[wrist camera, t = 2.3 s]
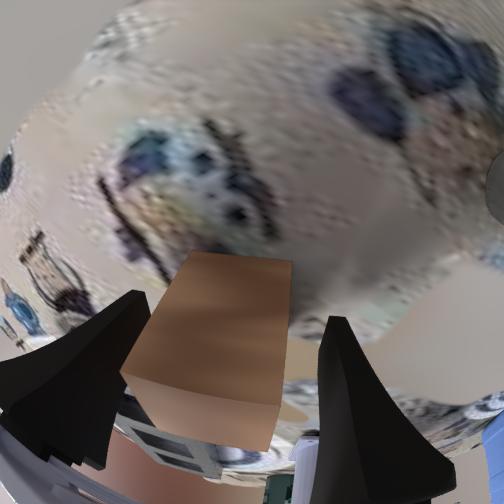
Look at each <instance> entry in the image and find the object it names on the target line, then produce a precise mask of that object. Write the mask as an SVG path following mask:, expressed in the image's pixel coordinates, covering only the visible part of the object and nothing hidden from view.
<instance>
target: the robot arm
mask: <svg viewBox="0 0 504 504" xmlns="http://www.w3.org/2000/svg"><path fill="white" fill-rule="evenodd" d="M150 317H151V313H150V310H149V306H148V302H147V299H146V295H145V292H143V291H138V290H131V291H129V292H128V293H126V294H125V295H123V296H122V297H120V298H119V299H117V300H116V301H115V302H113V303H112V304H110V305H109V306H108V307H106V308H105V309H103V310H102V311H101V312H99V313H98V314H96V315H95V316H94V317H92V318H91V319H89V320H88V321H86V322H85V323H83V324H82V325H80V326H79V327H77V328H76V329H74V330H73V331H71V332H69V333H68V334H66V335H64V336H63V337H61V338H59V339H57V340H55V341H54V342H52V343H50V344H48V345H45V346H43V347H41V348H39V349H37V350H35V351H32V352H30V353H27V354H25V355H22V356H19V357H16V358H13V359H9V360H5V361H1V362H0V408H1V409H2V410H3V412H2V414H1V413H0V483H1V484H2V486H3V487H4V488H5V490H6V491H7V492H8V494H9V495H10V496H11V498H12V499H13V500H14V501H15V503H16V504H105V503H107V504H144V503H142V502H139V501H137V500H134V499H132V498H129V497H127V496H125V495H123V494H120V493H118V492H116V491H114V490H112V489H110V488H108V487H106V486H104V485H101V484H100V483H98V482H96V481H94V480H92V479H90V478H89V477H87V476H85V475H83V474H82V473H80V472H78V471H77V470H75V469H73V468H72V467H71V465H72V463H75V464H77V465H78V466H81V464H82V462H83V463H85V464H87V465H89V466H91V467H92V468H94V469H96V470H98V471H99V470H103V469H105V466H106V458H107V452H108V446H109V441H110V437H111V432H112V428H113V425H114V421H115V418H116V414H117V411H118V408H119V405H120V403H121V400H122V397H123V394H124V392H125V390H126V388H127V386H128V385H127V383H126V381H125V380H124V378H123V376H122V375H121V373H120V370H121V368H122V366H123V364H124V362H125V361H126V359H127V357H128V355H129V353H130V352H131V350H132V348H133V346H134V344H135V343H136V341H137V339H138V337H139V336H140V334H141V332H142V331H143V329H144V327H145V325H146V324H147V322H148V320H149V319H150ZM318 354H319V355H318V374H317V375H318V395H319V417H320V433H319V436H301V437H300V438H299V439H298V441H297V443H296V445H295V447H294V448H293V450H292V452H291V453H290V455H289V457H288V460H290V461H296V466H295V475H294V483H293V491H292V499H291V504H431V499H432V498H435V497H437V496H440V495H443V494H445V493H447V492H450V491H452V490H454V489H455V488H456V486H457V485H456V473H455V467H454V464H453V463H452V462H451V461H450V460H449V459H447V458H446V457H445V456H444V455H443V454H441V453H440V452H439V451H438V450H437V449H435V448H434V447H433V446H432V445H431V444H430V443H429V442H428V441H427V440H426V439H425V438H424V437H423V436H422V435H421V434H420V433H419V431H418V430H417V429H416V428H415V427H414V426H413V425H412V424H411V422H410V421H409V420H408V419H407V418H406V417H405V415H404V414H403V413H402V412H401V410H400V409H399V408H398V406H397V405H396V404H395V402H394V401H393V400H392V398H391V397H390V395H389V394H388V392H387V391H386V390H385V388H384V386H383V385H382V383H381V382H380V380H379V378H378V377H377V376H376V374H375V372H374V370H373V369H372V367H371V365H370V363H369V362H368V360H367V358H366V356H365V355H364V352H363V351H362V349H361V347H360V345H359V343H358V341H357V339H356V337H355V335H354V333H353V331H352V329H351V327H350V325H349V322H348V320H347V319H346V317H340V316H329V318H328V322H327V325H326V328H325V332H324V335H323V338H322V341H321V345H320V348H319V353H318ZM78 488H80V489H81V490H83V491H85V492H87V493H88V494H90V495H92V496H94V497H96V498H97V499H99V500H101V501H103V502H105V503H103V502H101V501H99V500H97V499H95V498H92V497H90V496H88V495H85V494H83V493H81V492H79V490H78ZM454 504H460V502H457V503H454Z"/></svg>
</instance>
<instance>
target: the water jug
mask: <svg viewBox="0 0 504 504" xmlns="http://www.w3.org/2000/svg"><path fill="white" fill-rule="evenodd" d="M482 442H483V446H484V447H485V452H486V458H487V464H488V471H489V490H490V493H491V504H504V411H502V412H501V413H500V414H499V415H498V416H497V417H496V418H494V419H493V420H492V421H491V422H490V423H489V424H488V425H487V427H486V428H485V429H484V431H483V433H482Z"/></svg>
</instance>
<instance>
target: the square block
mask: <svg viewBox="0 0 504 504" xmlns="http://www.w3.org/2000/svg"><path fill="white" fill-rule="evenodd" d="M291 276H292V261H288V260H278V259H268V258H258V257H248V256H238V255H229V254H219V253H209V252H200V251H191V253H190V254H189V256H188V257H187V259H186V260H185V262H184V263H183V265H182V267H181V268H180V270H179V271H178V273H177V274H176V276H175V278H174V279H173V281H172V282H171V284H170V286H169V287H168V289H167V290H166V292H165V294H164V295H163V297H162V299H161V300H160V302H159V304H158V305H157V307H156V309H155V310H154V312H153V314H152V315H151V317H150V319H149V320H148V322H147V324H146V325H145V327H144V329H143V331H142V332H141V334H140V336H139V337H138V339H137V341H136V343H135V344H134V346H133V348H132V350H131V352H130V353H129V355H128V357H127V359H126V361H125V362H124V364H123V366H122V368H121V370H120V373H121V375H122V376H123V378H124V380H125V381H126V383H127V385H128V386H129V388H130V390H131V391H132V393H133V394H134V396H135V397H136V399H137V401H138V402H139V404H140V405H141V407H142V408H143V409H144V411H145V412H146V414H147V415H148V417H149V418H150V419H151V421H152V422H153V424H154V425H155V426H156V428H157V429H158V430H162V431H165V432H168V433H172V434H175V435H179V436H183V437H187V438H191V439H195V440H199V441H203V442H208V443H212V444H217V445H223V446H228V447H234V448H240V449H247V450H254V451H263V452H268V450H269V446H270V443H271V439H272V436H273V432H274V429H275V425H276V422H277V418H278V414H279V410H280V406H281V399H282V389H283V379H284V368H285V358H286V347H287V335H288V322H289V308H290V293H291Z"/></svg>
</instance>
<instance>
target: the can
mask: <svg viewBox="0 0 504 504" xmlns="http://www.w3.org/2000/svg"><path fill="white" fill-rule="evenodd" d="M293 483H294V476H292V475H273V476H269V477H267V481H266V487H265V493H264V499H263V504H291V499H292V491H293Z"/></svg>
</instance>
